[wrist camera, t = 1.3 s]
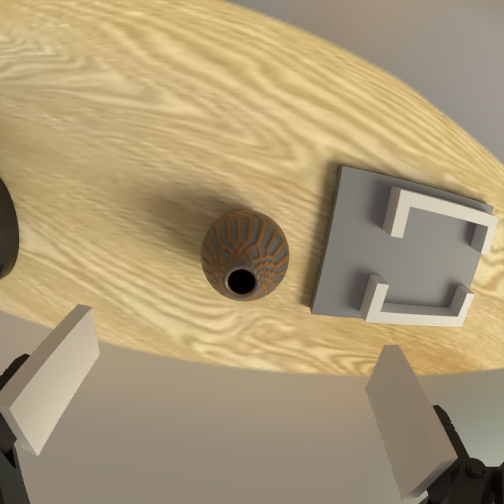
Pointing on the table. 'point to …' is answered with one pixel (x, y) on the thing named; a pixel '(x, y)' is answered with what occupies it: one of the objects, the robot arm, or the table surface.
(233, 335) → the table surface
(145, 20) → the table surface
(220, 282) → the vase
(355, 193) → the board
